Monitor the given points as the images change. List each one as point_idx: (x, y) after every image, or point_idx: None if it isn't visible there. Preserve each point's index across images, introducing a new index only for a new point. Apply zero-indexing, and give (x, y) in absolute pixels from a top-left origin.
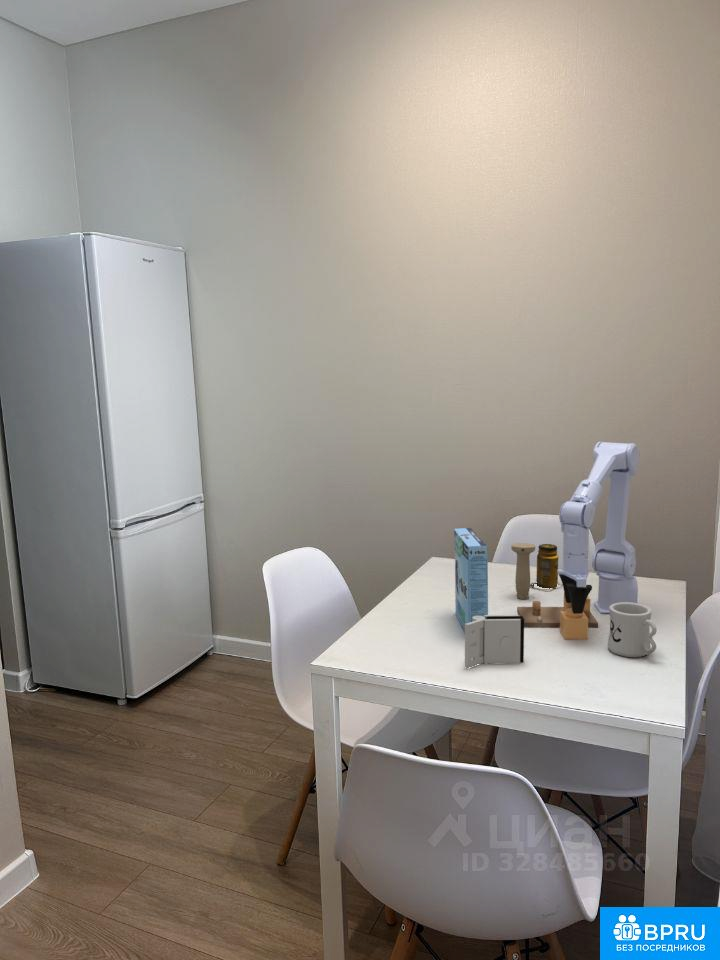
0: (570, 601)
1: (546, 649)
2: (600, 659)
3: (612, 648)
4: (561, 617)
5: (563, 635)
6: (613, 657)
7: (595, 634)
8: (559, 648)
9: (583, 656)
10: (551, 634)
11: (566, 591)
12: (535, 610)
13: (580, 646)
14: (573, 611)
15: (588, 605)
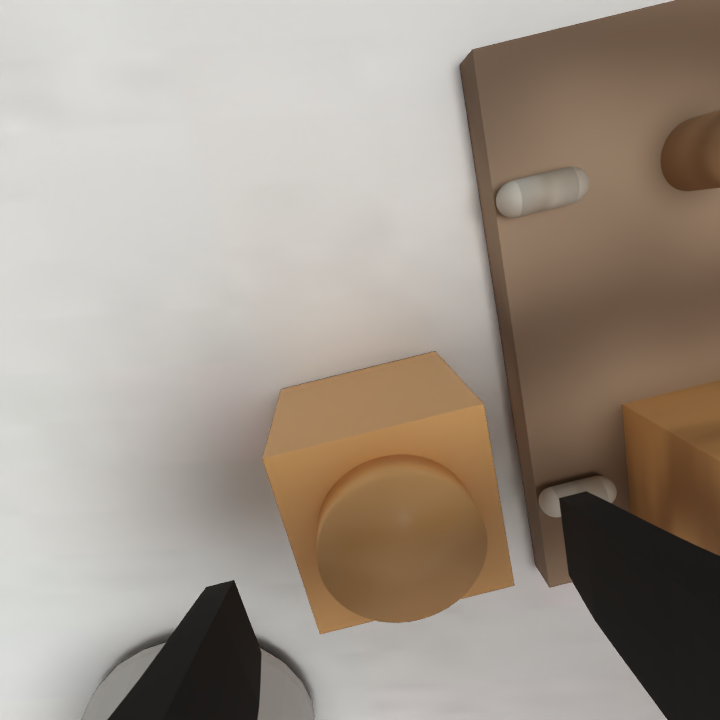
0: (571, 543)
1: (33, 282)
2: (10, 600)
3: (114, 678)
4: (410, 404)
5: (309, 386)
6: (74, 655)
7: None
8: (92, 368)
9: (13, 515)
10: (352, 298)
11: (662, 593)
12: (700, 138)
13: (181, 490)
14: (195, 605)
15: None
